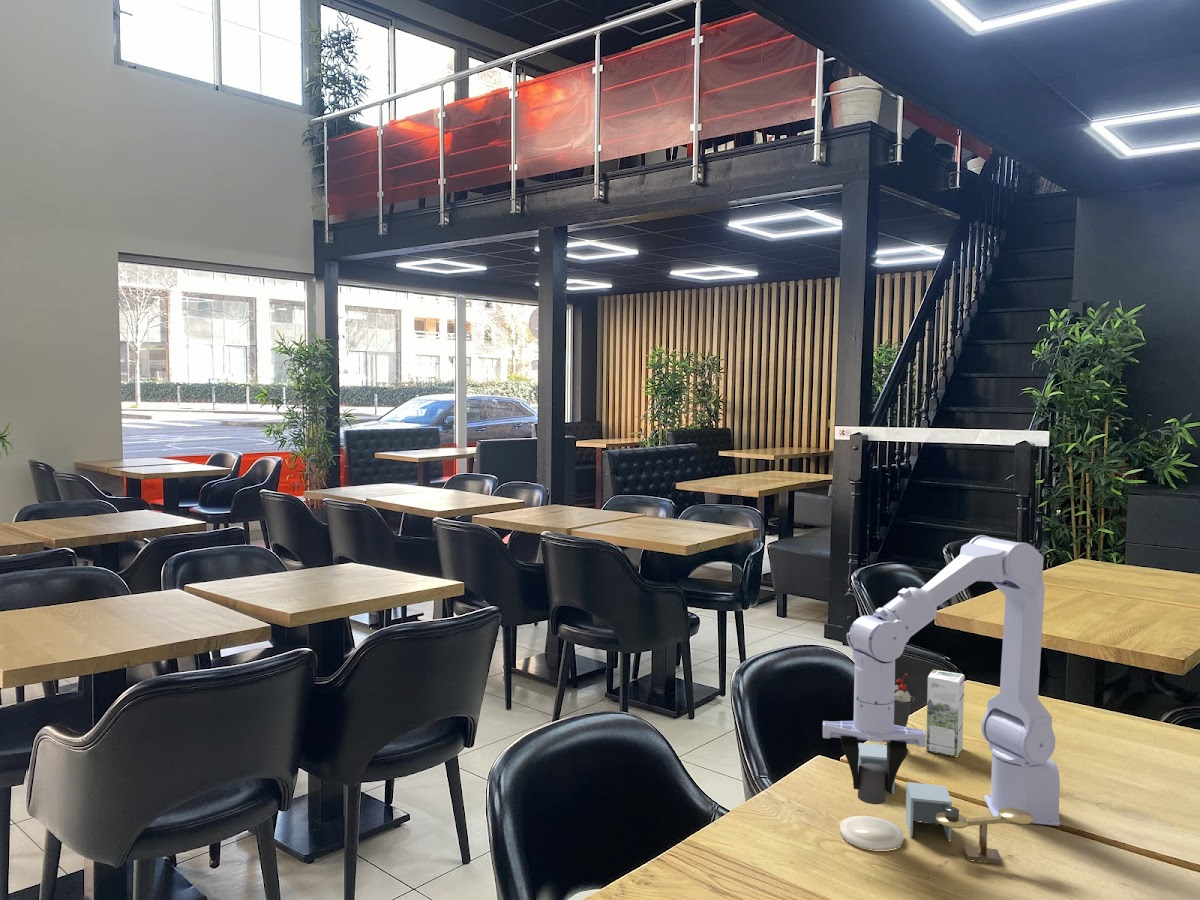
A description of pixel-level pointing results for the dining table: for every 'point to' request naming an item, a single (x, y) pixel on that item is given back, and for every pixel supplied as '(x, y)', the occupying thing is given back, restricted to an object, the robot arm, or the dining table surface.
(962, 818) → the balance
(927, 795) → the cover
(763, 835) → the dining table surface
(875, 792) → the dark grey cylinder
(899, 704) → the sundae
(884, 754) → the cover
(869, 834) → the dish
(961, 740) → the syrup box
